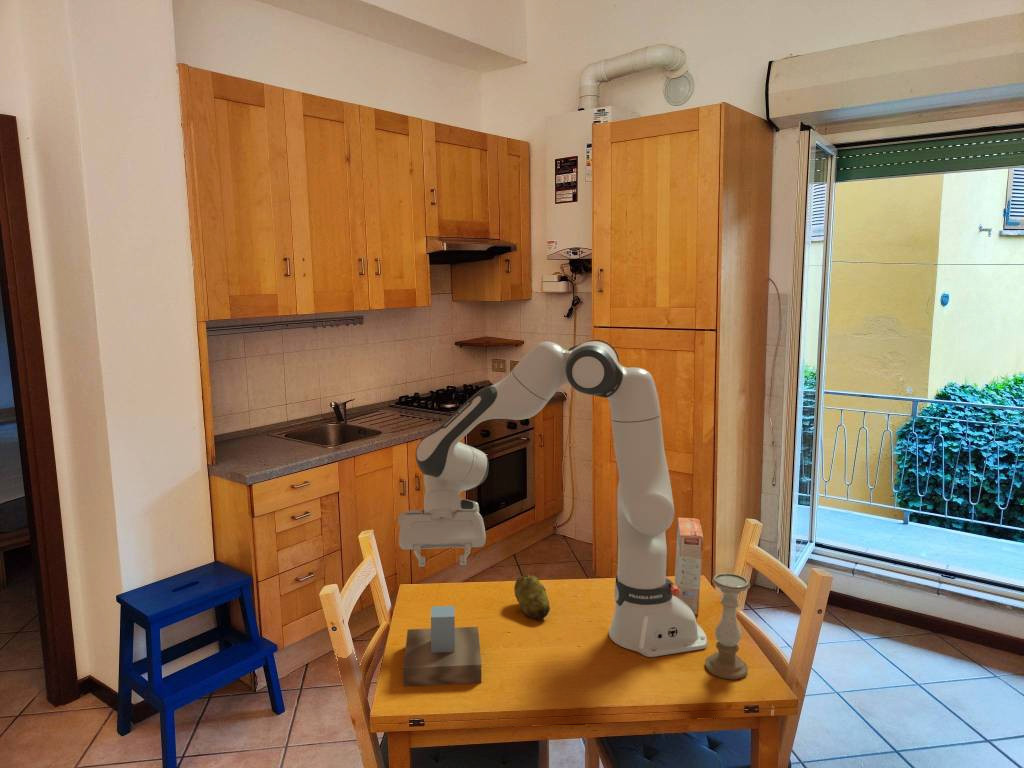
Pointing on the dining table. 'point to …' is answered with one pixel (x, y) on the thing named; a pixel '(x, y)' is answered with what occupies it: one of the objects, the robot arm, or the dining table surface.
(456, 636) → the plinth
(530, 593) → the potato
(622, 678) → the dining table surface
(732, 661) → the candle holder
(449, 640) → the block
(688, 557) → the cracker box
